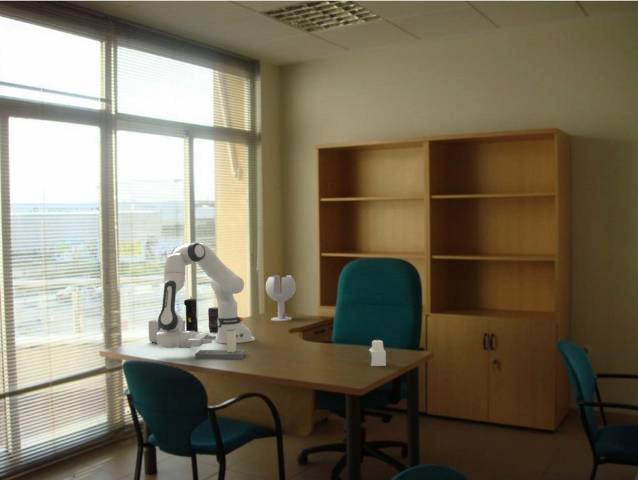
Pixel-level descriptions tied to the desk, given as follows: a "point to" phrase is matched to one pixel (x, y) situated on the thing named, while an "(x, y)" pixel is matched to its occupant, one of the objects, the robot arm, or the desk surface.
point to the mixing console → (219, 354)
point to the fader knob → (231, 339)
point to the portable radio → (191, 315)
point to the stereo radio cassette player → (157, 329)
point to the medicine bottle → (377, 353)
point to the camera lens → (213, 319)
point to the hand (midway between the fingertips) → (213, 339)
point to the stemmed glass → (281, 293)
